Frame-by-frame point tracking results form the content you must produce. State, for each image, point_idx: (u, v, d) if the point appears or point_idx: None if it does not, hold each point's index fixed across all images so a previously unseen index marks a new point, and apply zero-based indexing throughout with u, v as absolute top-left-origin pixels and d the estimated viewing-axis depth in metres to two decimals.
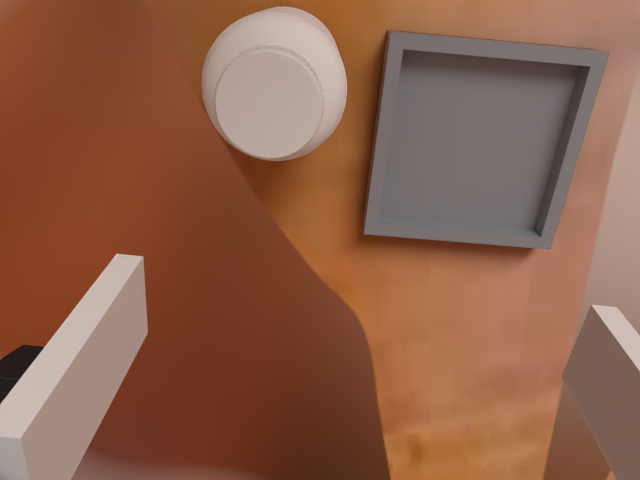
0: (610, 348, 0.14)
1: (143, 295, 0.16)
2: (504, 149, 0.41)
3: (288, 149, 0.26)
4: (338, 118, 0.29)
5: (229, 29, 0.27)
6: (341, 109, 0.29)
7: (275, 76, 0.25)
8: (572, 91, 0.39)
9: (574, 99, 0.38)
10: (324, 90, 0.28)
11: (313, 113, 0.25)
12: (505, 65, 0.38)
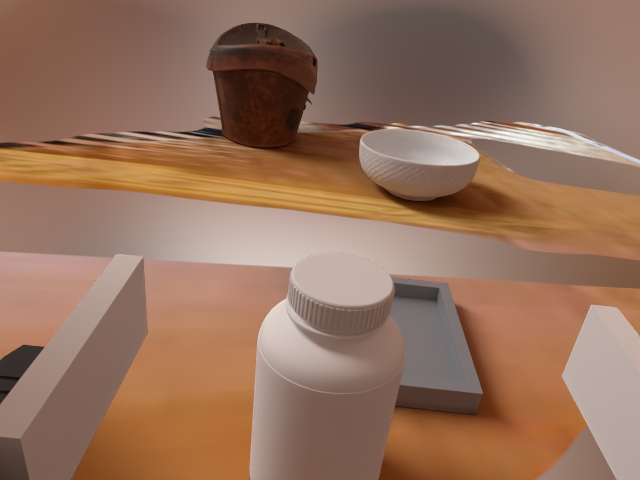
0: (609, 348, 0.14)
1: (144, 295, 0.16)
2: None
3: (380, 270, 0.28)
4: None
5: (272, 357, 0.26)
6: None
7: (314, 270, 0.27)
8: None
9: None
10: None
11: (345, 256, 0.29)
12: None
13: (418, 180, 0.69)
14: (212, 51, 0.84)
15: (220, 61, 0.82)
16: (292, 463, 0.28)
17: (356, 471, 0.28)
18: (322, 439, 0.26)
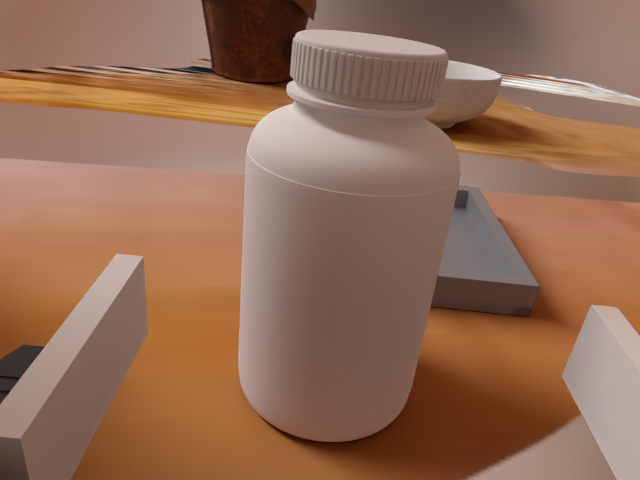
0: (609, 348, 0.14)
1: (144, 295, 0.16)
2: None
3: (424, 44, 0.19)
4: None
5: (268, 154, 0.17)
6: None
7: (329, 34, 0.18)
8: None
9: None
10: None
11: (371, 34, 0.20)
12: None
13: None
14: None
15: None
16: (298, 325, 0.19)
17: (391, 339, 0.19)
18: (343, 279, 0.18)
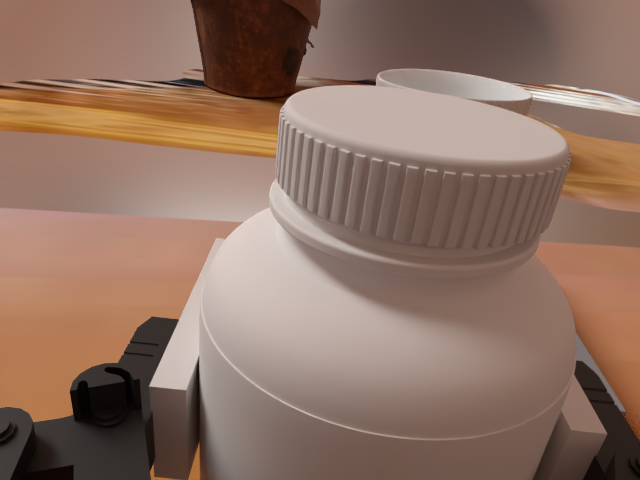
0: None
1: None
2: None
3: (512, 115, 0.11)
4: None
5: (231, 333, 0.09)
6: None
7: (346, 102, 0.10)
8: None
9: None
10: None
11: (415, 92, 0.12)
12: None
13: None
14: None
15: None
16: None
17: None
18: None
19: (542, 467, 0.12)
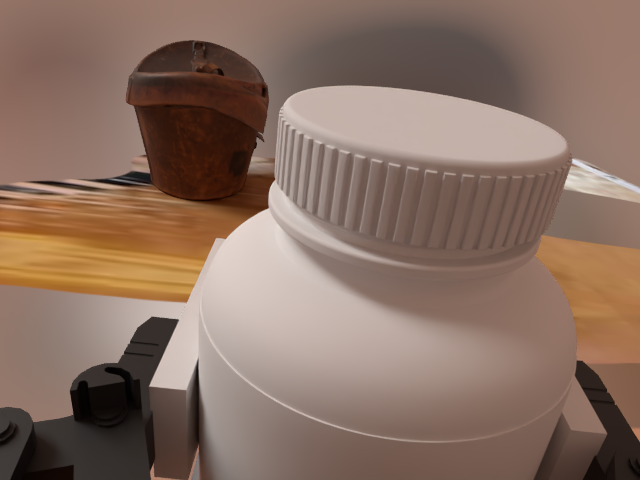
0: None
1: None
2: None
3: (512, 115, 0.11)
4: None
5: (230, 334, 0.09)
6: None
7: (346, 103, 0.10)
8: None
9: None
10: None
11: (415, 93, 0.12)
12: None
13: None
14: (130, 79, 0.65)
15: (138, 94, 0.63)
16: None
17: None
18: None
19: (542, 467, 0.12)
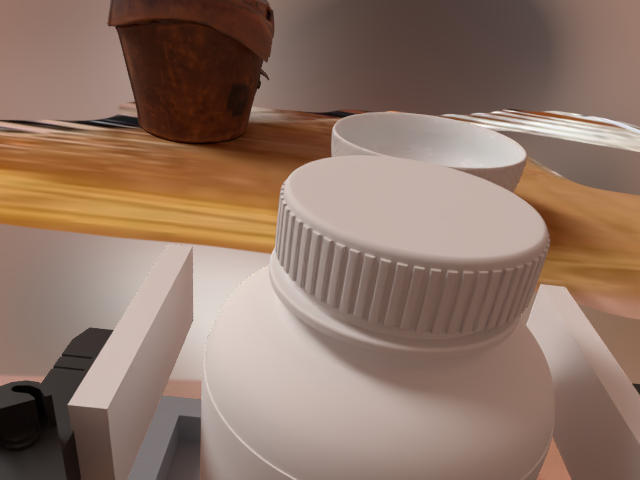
0: (554, 324, 0.15)
1: (190, 283, 0.16)
2: None
3: (497, 190, 0.12)
4: None
5: (233, 402, 0.10)
6: None
7: (342, 182, 0.11)
8: None
9: None
10: None
11: (407, 162, 0.12)
12: None
13: None
14: None
15: (120, 10, 0.53)
16: None
17: None
18: None
19: None
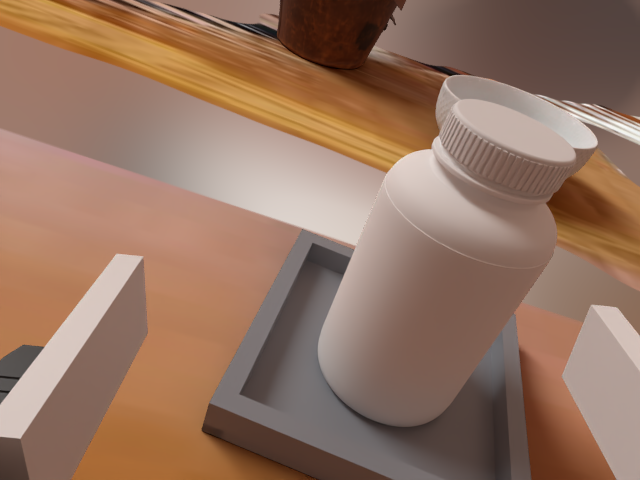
0: (609, 348, 0.14)
1: (143, 295, 0.16)
2: None
3: (558, 137, 0.22)
4: None
5: (405, 200, 0.21)
6: None
7: (481, 112, 0.21)
8: (333, 271, 0.35)
9: (342, 267, 0.35)
10: None
11: (514, 112, 0.23)
12: (291, 314, 0.31)
13: None
14: None
15: None
16: (385, 333, 0.23)
17: (454, 364, 0.24)
18: (434, 312, 0.22)
19: None
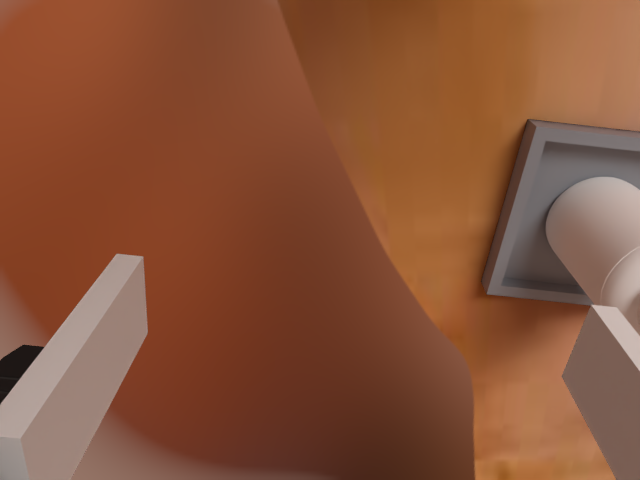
0: (609, 348, 0.14)
1: (143, 295, 0.16)
2: None
3: None
4: None
5: None
6: None
7: None
8: None
9: None
10: None
11: None
12: (633, 153, 0.42)
13: None
14: None
15: None
16: (581, 228, 0.39)
17: (568, 266, 0.41)
18: (584, 259, 0.37)
19: None
